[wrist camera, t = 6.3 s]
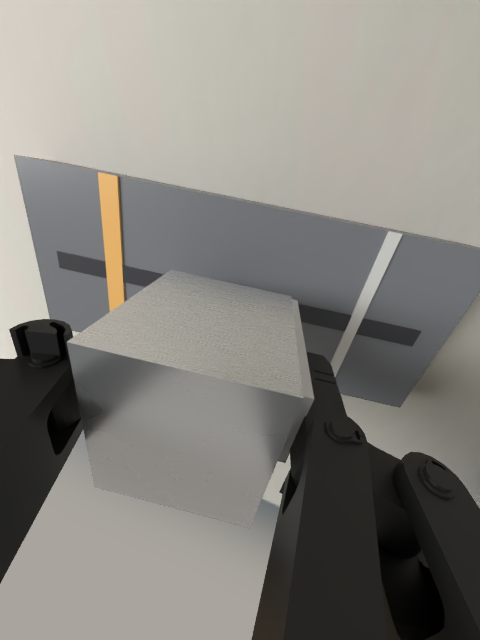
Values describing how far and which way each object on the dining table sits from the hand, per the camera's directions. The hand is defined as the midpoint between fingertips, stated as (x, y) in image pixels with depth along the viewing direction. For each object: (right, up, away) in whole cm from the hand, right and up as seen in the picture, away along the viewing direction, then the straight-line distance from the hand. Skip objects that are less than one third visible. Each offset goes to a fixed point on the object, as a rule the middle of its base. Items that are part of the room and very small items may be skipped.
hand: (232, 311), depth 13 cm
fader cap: (0, +1, +1) cm, 1 cm away
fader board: (0, +2, +4) cm, 4 cm away
